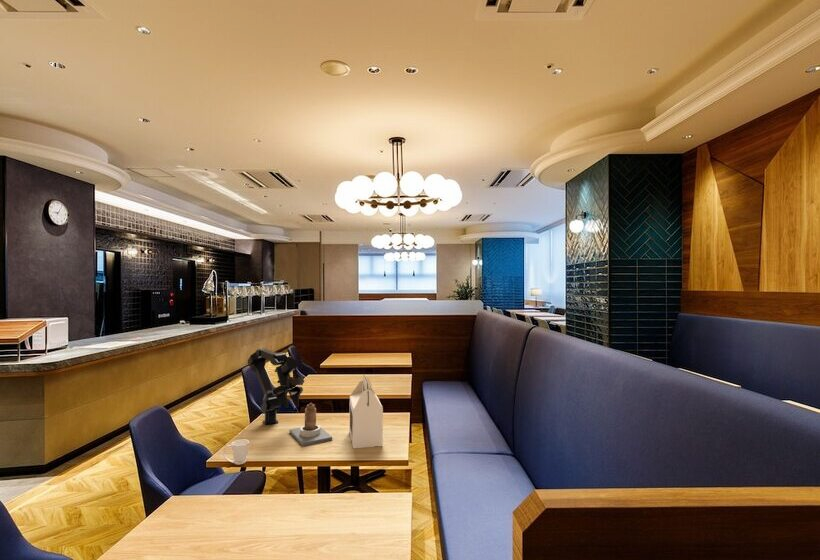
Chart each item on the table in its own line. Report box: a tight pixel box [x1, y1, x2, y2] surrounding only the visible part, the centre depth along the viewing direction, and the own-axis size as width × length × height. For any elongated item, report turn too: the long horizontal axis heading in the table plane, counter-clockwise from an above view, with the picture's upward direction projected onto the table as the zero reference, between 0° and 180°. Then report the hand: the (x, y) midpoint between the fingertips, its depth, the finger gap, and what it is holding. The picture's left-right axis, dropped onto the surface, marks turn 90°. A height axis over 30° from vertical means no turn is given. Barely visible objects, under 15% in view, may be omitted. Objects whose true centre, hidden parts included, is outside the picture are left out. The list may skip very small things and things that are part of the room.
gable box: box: [349, 374, 384, 449], centre depth 196 cm, size 22×13×28 cm, turn 12°
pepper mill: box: [304, 402, 317, 431], centre depth 198 cm, size 5×5×14 cm
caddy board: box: [288, 424, 333, 447], centre depth 198 cm, size 20×14×4 cm
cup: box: [222, 438, 250, 466], centre depth 169 cm, size 7×10×8 cm
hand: (292, 407), depth 202 cm, fingers open, 9 cm apart
